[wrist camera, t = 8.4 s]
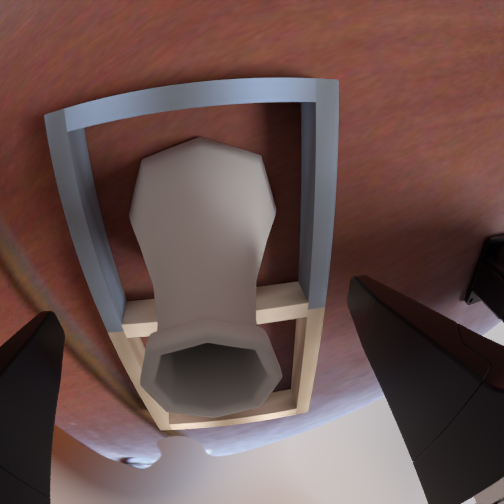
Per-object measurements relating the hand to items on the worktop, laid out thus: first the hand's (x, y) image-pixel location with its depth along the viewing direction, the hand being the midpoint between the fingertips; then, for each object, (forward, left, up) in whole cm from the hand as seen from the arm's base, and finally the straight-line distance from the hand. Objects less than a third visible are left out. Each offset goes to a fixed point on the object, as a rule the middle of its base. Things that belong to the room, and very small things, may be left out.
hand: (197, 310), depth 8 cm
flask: (0, 0, -8) cm, 8 cm away
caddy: (0, +6, -7) cm, 9 cm away
